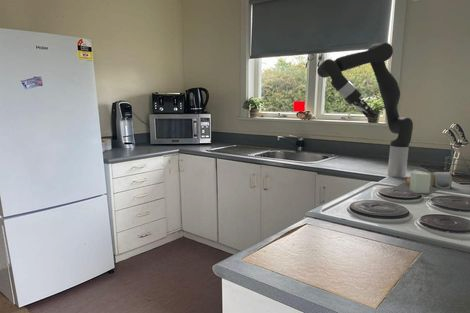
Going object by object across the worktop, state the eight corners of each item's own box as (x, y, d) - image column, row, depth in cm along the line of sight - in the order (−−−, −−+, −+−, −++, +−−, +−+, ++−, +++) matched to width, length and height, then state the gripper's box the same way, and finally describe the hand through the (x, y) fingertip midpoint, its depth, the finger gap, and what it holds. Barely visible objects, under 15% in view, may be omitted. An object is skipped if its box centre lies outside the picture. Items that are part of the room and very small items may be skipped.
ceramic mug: (427, 184, 166) (429, 169, 165) (445, 185, 165) (447, 170, 163) (435, 190, 156) (437, 174, 155) (454, 191, 154) (456, 175, 153)
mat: (405, 183, 167) (405, 182, 167) (440, 189, 156) (440, 188, 156) (389, 189, 154) (389, 188, 154) (426, 197, 142) (426, 195, 142)
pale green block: (414, 192, 147) (416, 174, 146) (409, 189, 153) (411, 171, 152) (428, 193, 147) (431, 174, 145) (422, 189, 152) (424, 172, 151)
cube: (409, 186, 159) (410, 178, 158) (406, 184, 162) (407, 176, 162) (418, 187, 158) (419, 178, 158) (414, 185, 162) (415, 177, 161)
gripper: (358, 86, 155) (382, 111, 155) (351, 88, 169) (373, 111, 169) (346, 97, 156) (369, 122, 156) (340, 98, 170) (361, 121, 170)
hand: (371, 116), depth 163 cm, fingers open, 8 cm apart
